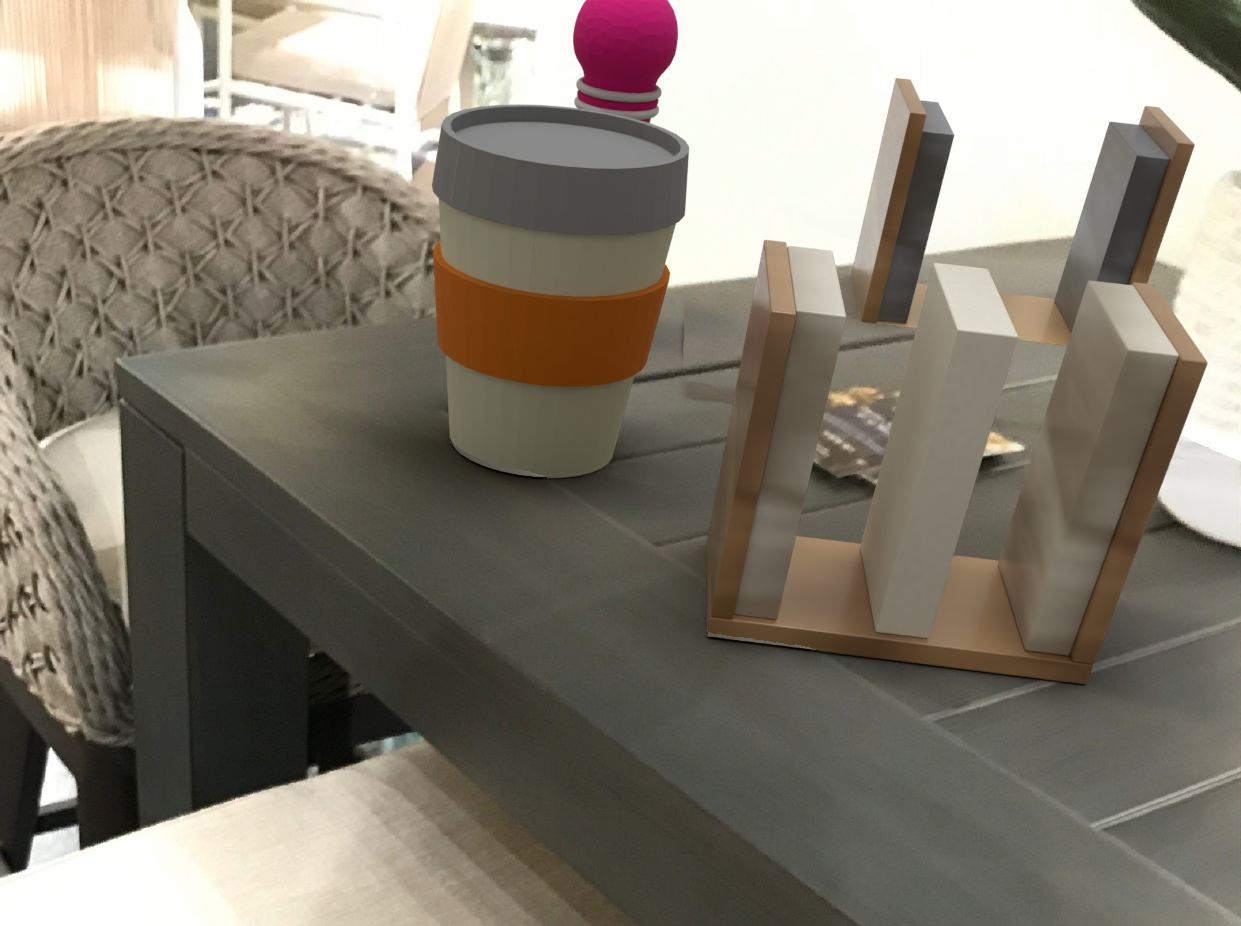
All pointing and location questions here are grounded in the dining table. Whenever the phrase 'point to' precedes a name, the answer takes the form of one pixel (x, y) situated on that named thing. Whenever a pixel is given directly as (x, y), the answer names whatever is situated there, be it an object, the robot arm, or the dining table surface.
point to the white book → (935, 446)
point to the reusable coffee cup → (550, 276)
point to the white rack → (974, 588)
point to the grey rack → (1102, 245)
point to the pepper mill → (623, 55)
